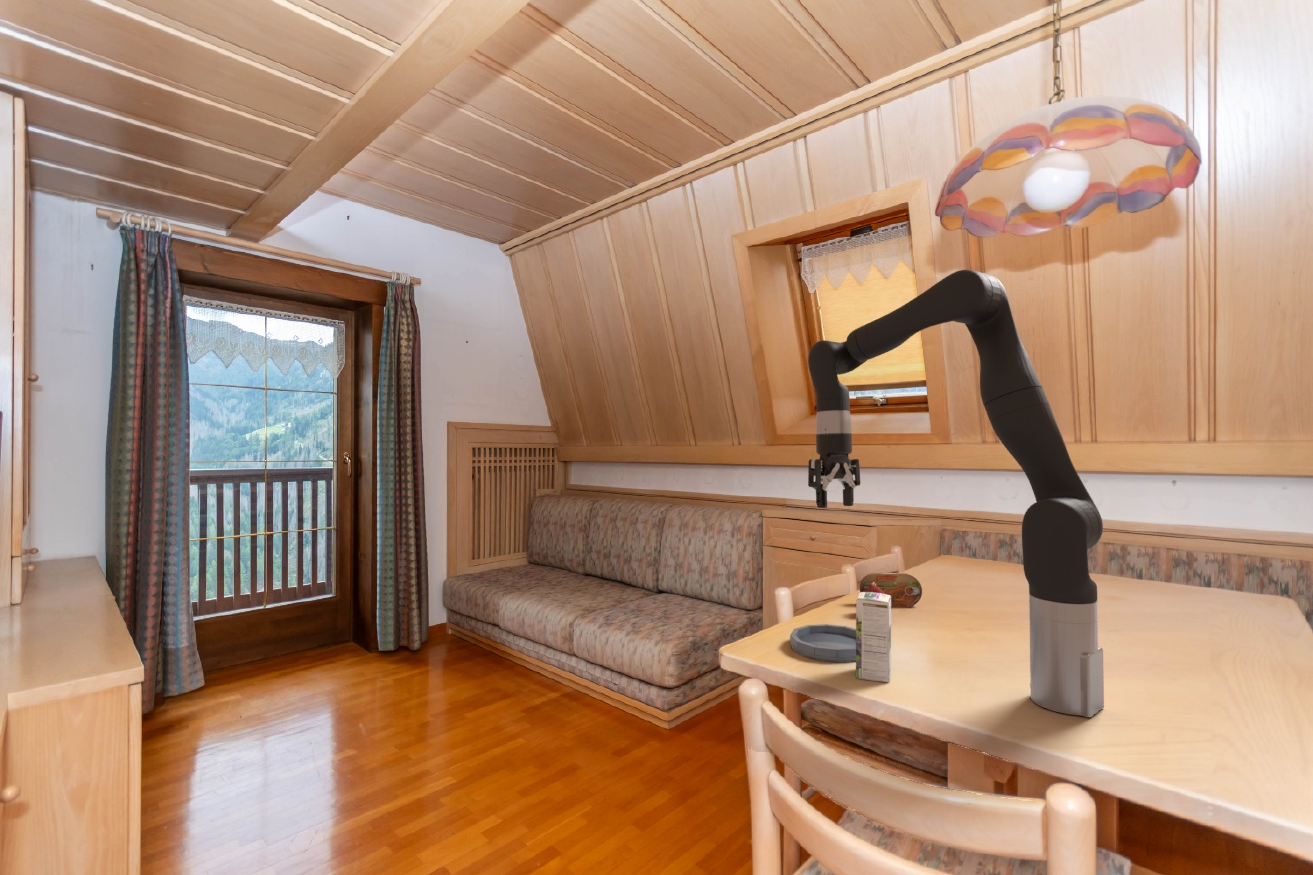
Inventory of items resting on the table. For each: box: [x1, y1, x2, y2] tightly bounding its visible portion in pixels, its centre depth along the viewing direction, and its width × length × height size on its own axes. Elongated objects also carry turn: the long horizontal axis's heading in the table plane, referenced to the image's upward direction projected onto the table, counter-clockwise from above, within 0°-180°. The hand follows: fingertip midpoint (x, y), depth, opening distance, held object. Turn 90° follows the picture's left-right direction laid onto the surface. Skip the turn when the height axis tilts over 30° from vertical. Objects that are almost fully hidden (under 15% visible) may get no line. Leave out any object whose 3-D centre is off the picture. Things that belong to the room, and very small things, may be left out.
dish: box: [789, 623, 856, 663], centre depth 128 cm, size 16×16×2 cm
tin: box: [859, 572, 923, 608], centre depth 159 cm, size 15×3×8 cm, turn 81°
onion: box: [864, 582, 884, 594], centre depth 150 cm, size 6×6×8 cm
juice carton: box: [855, 591, 892, 683], centre depth 113 cm, size 6×6×14 cm
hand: (835, 506), depth 135 cm, fingers open, 8 cm apart
